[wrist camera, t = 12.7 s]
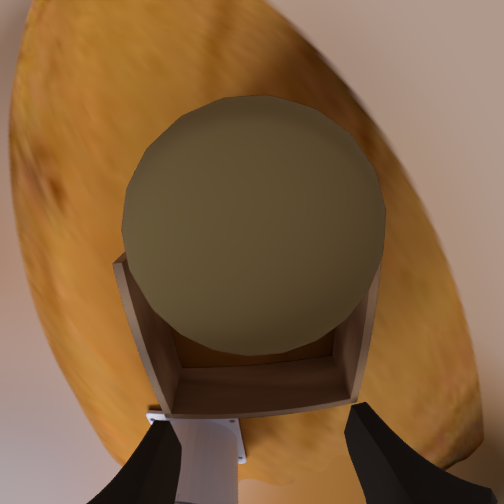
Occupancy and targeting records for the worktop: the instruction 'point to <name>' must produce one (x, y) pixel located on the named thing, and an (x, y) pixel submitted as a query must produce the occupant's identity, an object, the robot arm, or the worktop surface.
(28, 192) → the worktop surface
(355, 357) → the open wooden enclosure
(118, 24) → the worktop surface
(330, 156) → the pepper mill
